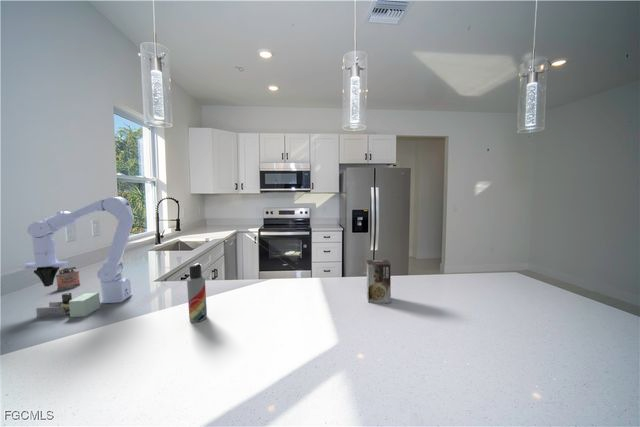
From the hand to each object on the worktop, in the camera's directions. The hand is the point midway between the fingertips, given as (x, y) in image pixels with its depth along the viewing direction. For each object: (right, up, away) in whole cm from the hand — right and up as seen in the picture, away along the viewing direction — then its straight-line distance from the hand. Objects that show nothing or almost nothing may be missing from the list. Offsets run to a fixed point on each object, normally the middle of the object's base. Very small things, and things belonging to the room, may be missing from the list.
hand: (48, 285), depth 99 cm
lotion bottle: (+63, -10, -9) cm, 65 cm away
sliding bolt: (+14, -8, -3) cm, 17 cm away
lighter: (-15, -8, +23) cm, 29 cm away
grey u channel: (+7, -10, -3) cm, 12 cm away
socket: (+17, -9, -2) cm, 20 cm away
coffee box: (+131, -8, +5) cm, 132 cm away
